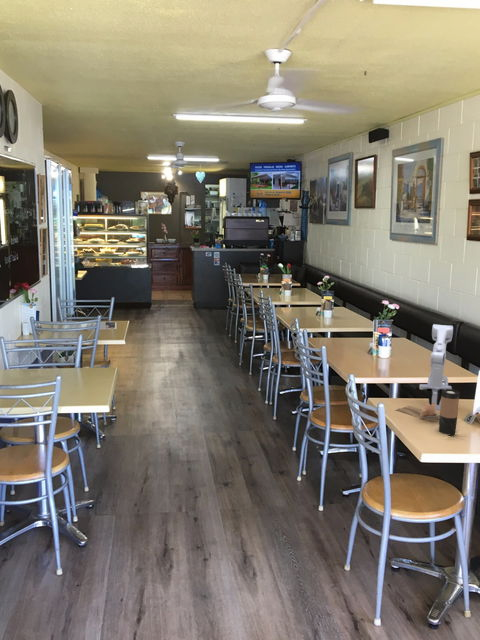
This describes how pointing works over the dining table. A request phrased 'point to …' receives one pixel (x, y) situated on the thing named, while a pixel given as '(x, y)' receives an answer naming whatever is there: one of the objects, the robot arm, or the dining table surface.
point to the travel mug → (448, 411)
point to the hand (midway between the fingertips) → (434, 404)
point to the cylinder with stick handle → (428, 410)
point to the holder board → (418, 413)
